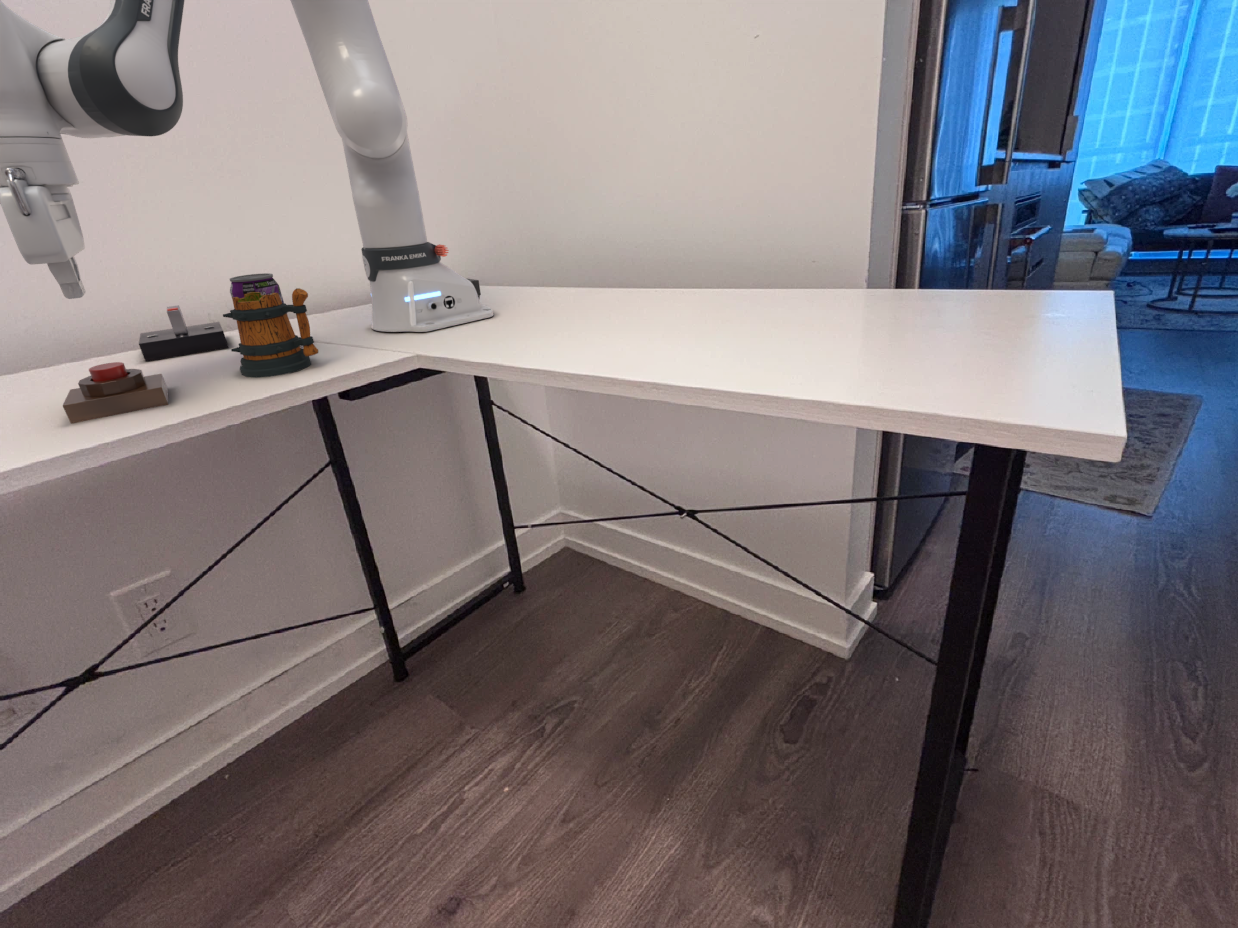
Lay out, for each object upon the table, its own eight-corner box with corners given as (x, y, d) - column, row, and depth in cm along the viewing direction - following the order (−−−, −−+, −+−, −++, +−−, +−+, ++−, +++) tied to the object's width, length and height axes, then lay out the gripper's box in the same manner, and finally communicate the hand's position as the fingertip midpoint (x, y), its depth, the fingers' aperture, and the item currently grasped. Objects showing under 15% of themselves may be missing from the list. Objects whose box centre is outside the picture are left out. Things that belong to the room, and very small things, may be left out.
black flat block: (224, 337, 115) (218, 320, 113) (228, 348, 107) (222, 329, 106) (146, 350, 109) (139, 332, 108) (145, 361, 101) (138, 342, 100)
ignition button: (129, 373, 81) (124, 360, 81) (128, 379, 79) (122, 366, 78) (95, 379, 80) (89, 365, 79) (93, 385, 77) (87, 372, 76)
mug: (223, 378, 90) (195, 297, 85) (267, 358, 99) (245, 284, 94) (306, 377, 88) (283, 294, 83) (343, 357, 97) (325, 281, 92)
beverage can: (277, 356, 100) (254, 279, 95) (239, 356, 102) (215, 280, 96) (305, 344, 106) (285, 272, 101) (269, 344, 108) (248, 273, 103)
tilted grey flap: (175, 329, 108) (166, 305, 107) (187, 328, 109) (178, 303, 107) (175, 335, 104) (166, 310, 102) (187, 333, 105) (178, 308, 103)
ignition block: (168, 390, 86) (157, 362, 84) (168, 404, 80) (156, 374, 78) (77, 406, 81) (64, 377, 79) (70, 424, 75) (56, 392, 73)
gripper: (46, 165, 62) (102, 304, 68) (69, 171, 78) (113, 284, 84) (-39, 168, 59) (28, 313, 65) (3, 173, 75) (54, 290, 81)
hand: (76, 296), depth 75 cm, fingers closed
